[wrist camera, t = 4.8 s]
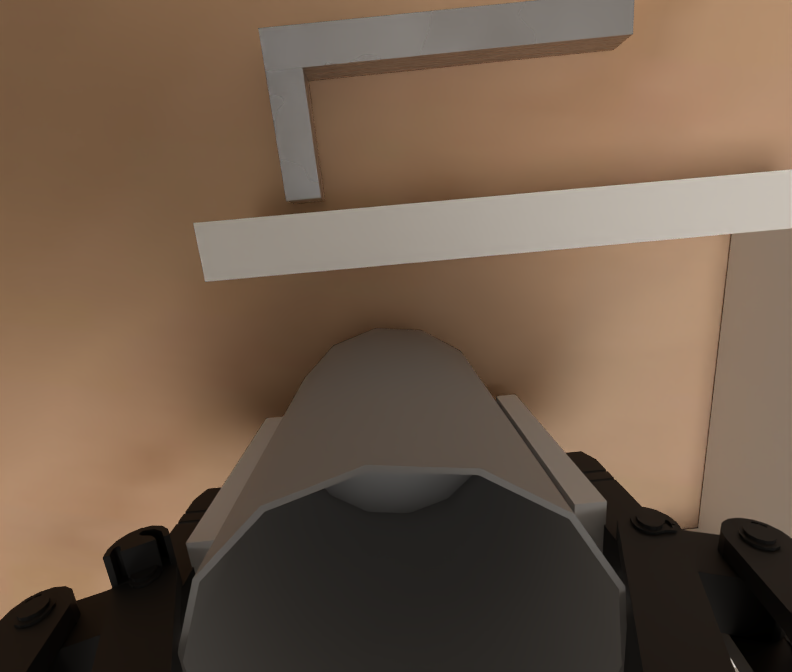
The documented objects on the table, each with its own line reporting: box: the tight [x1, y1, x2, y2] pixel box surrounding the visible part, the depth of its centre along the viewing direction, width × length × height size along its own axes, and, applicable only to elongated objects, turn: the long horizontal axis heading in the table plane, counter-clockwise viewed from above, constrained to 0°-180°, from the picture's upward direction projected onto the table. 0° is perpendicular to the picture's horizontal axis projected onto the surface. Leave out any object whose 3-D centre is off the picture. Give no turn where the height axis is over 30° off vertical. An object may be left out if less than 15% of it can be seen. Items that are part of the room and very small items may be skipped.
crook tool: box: [258, 0, 634, 204], centre depth 14 cm, size 12×5×1 cm, turn 96°
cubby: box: [193, 169, 792, 668], centre depth 15 cm, size 20×17×5 cm
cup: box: [178, 328, 627, 672], centre depth 12 cm, size 8×8×10 cm
